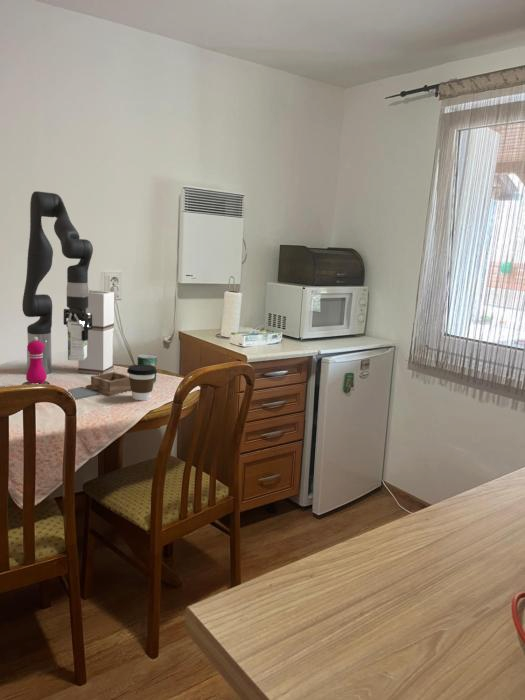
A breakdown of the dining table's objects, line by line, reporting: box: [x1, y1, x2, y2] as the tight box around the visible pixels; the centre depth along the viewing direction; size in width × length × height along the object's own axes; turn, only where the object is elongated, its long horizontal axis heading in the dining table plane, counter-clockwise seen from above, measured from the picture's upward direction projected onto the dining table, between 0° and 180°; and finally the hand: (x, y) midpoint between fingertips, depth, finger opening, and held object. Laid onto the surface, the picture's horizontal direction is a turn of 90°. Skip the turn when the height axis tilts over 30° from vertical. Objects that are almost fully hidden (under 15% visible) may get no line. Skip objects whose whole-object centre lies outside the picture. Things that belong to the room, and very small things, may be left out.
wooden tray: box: [85, 371, 132, 397], centre depth 210 cm, size 14×14×5 cm
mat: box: [67, 386, 101, 401], centre depth 201 cm, size 11×11×1 cm
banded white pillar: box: [77, 289, 115, 375], centre depth 232 cm, size 11×11×35 cm
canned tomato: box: [137, 353, 158, 383], centre depth 224 cm, size 8×8×11 cm
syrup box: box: [67, 320, 87, 362], centre depth 197 cm, size 6×6×14 cm
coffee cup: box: [126, 364, 158, 401], centre depth 200 cm, size 11×11×12 cm
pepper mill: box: [25, 337, 47, 384], centre depth 204 cm, size 7×7×20 cm
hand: (77, 338), depth 197 cm, fingers closed on syrup box, 8 cm apart
